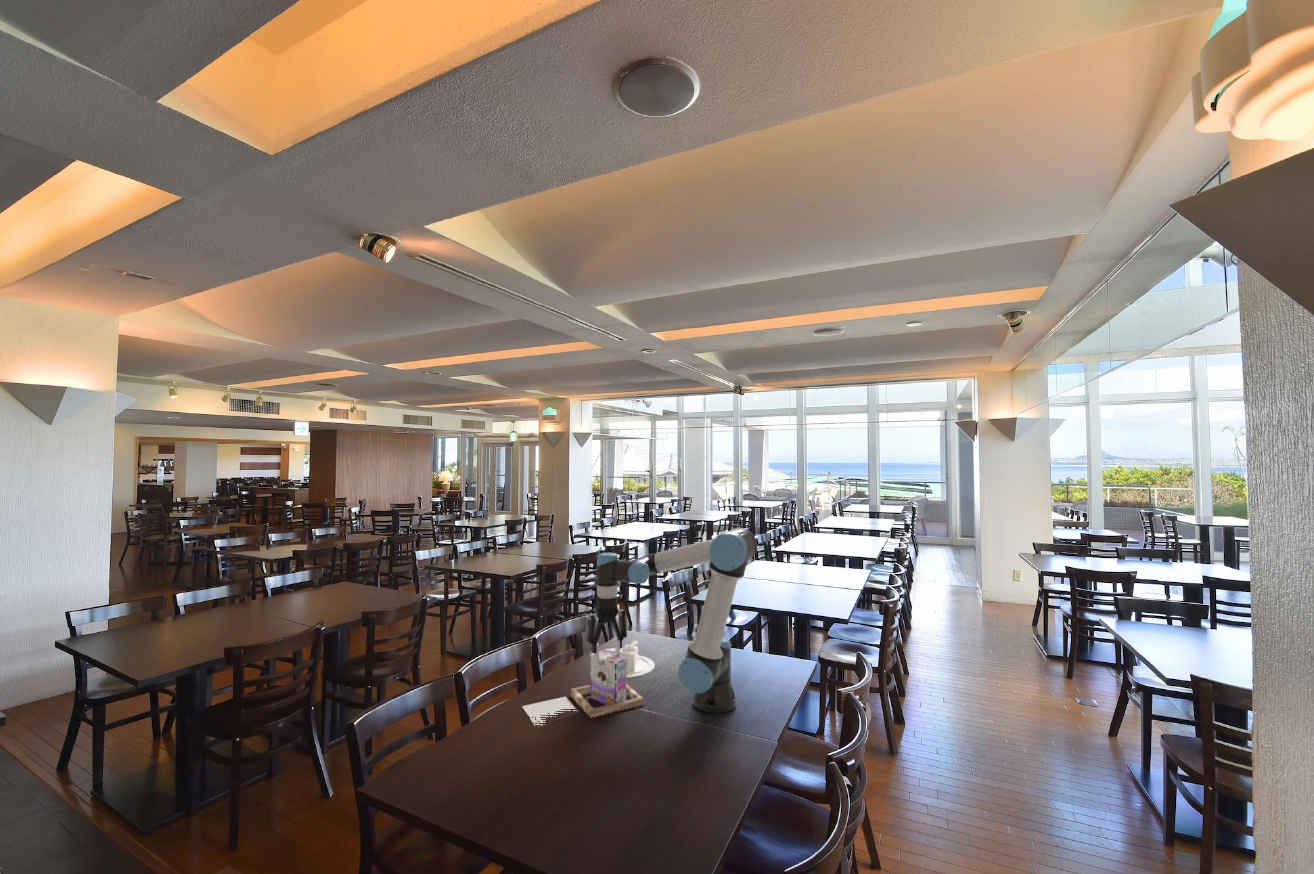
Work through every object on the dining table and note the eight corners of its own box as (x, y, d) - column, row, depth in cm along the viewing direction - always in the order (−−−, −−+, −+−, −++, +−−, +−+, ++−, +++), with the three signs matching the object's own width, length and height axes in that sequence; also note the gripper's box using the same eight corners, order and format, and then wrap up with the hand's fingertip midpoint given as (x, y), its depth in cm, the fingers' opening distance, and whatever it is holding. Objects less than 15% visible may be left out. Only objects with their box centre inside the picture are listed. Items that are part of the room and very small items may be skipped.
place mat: (585, 721, 178) (585, 719, 178) (538, 733, 170) (538, 731, 170) (565, 698, 196) (565, 696, 196) (522, 707, 188) (522, 706, 188)
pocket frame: (643, 706, 189) (643, 698, 189) (591, 720, 179) (591, 711, 179) (619, 685, 206) (619, 678, 206) (570, 696, 197) (570, 688, 197)
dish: (657, 658, 236) (657, 632, 237) (651, 681, 211) (651, 652, 212) (602, 655, 239) (602, 630, 239) (590, 678, 214) (590, 650, 214)
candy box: (627, 704, 190) (627, 658, 191) (615, 710, 186) (615, 663, 186) (601, 693, 199) (601, 649, 200) (589, 698, 195) (589, 653, 196)
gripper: (627, 590, 203) (627, 651, 202) (577, 597, 193) (576, 661, 192) (636, 594, 196) (636, 657, 195) (584, 602, 186) (584, 668, 185)
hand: (607, 659), depth 193 cm, fingers open, 7 cm apart
